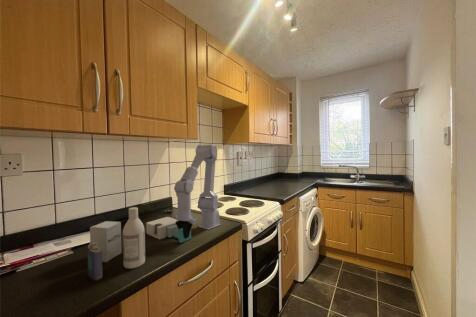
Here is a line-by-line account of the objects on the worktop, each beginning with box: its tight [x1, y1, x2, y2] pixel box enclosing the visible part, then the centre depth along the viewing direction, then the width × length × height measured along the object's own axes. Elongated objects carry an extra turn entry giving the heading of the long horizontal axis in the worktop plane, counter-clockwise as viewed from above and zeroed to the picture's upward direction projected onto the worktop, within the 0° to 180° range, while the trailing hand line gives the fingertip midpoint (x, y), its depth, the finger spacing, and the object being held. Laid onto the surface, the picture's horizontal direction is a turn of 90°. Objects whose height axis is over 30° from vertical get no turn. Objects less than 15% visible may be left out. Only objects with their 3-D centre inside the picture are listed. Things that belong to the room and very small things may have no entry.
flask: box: [87, 242, 104, 281], centre depth 66 cm, size 9×3×11 cm, turn 49°
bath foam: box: [122, 206, 146, 270], centre depth 72 cm, size 7×7×20 cm
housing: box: [145, 216, 177, 240], centre depth 102 cm, size 12×12×5 cm
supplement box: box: [89, 220, 122, 263], centre depth 78 cm, size 7×7×13 cm
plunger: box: [155, 223, 161, 234], centre depth 97 cm, size 3×3×4 cm
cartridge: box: [166, 225, 192, 244], centre depth 97 cm, size 6×20×6 cm, turn 52°
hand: (184, 236), depth 91 cm, fingers closed on cartridge, 2 cm apart
